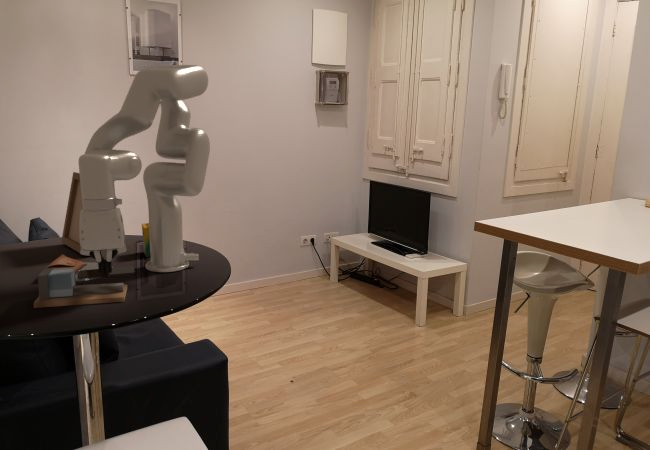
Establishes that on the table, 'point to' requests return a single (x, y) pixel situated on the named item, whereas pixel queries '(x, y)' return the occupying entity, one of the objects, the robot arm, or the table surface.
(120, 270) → the smartphone
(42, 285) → the dark grey slab
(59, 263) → the sunglasses case
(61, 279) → the grey slider block
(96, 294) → the rail board
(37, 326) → the table surface
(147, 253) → the crayon box
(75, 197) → the photo frame
